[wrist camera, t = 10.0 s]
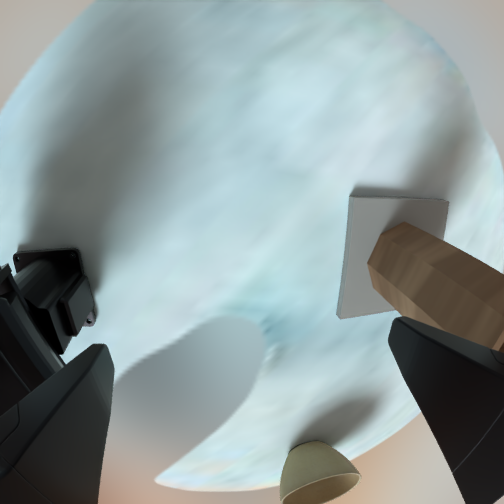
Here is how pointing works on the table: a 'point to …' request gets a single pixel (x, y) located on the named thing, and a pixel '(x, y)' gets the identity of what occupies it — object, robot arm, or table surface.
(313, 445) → the flower pot
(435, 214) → the post stand
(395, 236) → the brown faceted vase
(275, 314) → the table surface
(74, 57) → the table surface
